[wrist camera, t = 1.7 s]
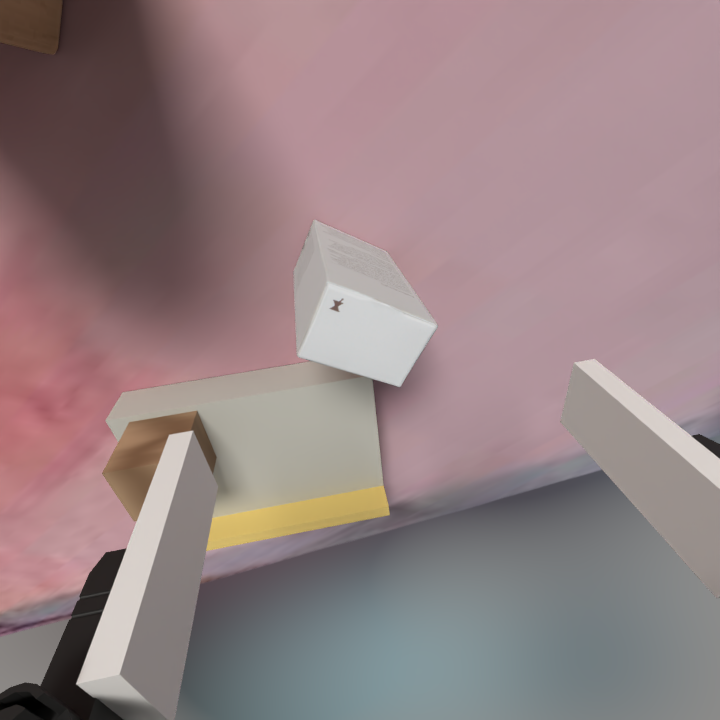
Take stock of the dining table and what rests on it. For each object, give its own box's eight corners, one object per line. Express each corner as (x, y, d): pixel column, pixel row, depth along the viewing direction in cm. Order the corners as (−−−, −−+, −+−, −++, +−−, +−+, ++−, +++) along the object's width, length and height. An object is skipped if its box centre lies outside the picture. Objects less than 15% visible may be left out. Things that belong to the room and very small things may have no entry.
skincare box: (291, 273, 29) (291, 357, 19) (313, 217, 27) (326, 278, 17) (365, 301, 31) (401, 391, 21) (390, 251, 29) (442, 323, 19)
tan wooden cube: (196, 410, 30) (181, 459, 25) (216, 457, 32) (205, 508, 28) (129, 422, 29) (102, 473, 25) (154, 468, 32) (134, 521, 28)
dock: (364, 352, 33) (377, 393, 28) (377, 466, 41) (389, 514, 36) (122, 392, 32) (91, 443, 27) (182, 502, 39) (166, 558, 34)
